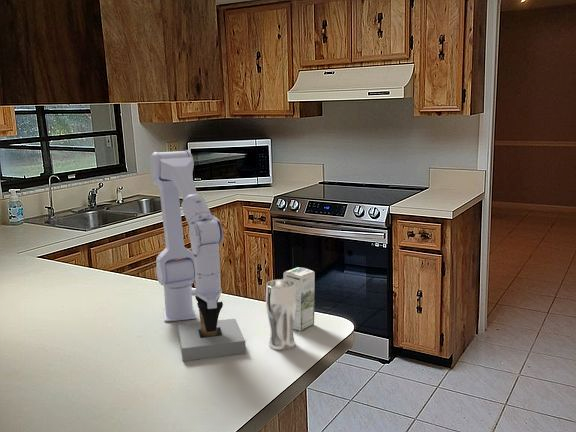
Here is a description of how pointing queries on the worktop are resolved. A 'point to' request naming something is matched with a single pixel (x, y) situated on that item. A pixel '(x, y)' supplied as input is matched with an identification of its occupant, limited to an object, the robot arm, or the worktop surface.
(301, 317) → the syrup box
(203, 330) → the dowel
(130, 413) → the worktop surface
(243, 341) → the socket block
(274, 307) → the beer glass
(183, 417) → the worktop surface
